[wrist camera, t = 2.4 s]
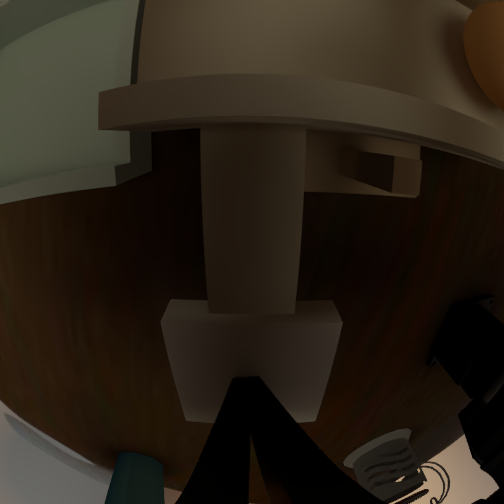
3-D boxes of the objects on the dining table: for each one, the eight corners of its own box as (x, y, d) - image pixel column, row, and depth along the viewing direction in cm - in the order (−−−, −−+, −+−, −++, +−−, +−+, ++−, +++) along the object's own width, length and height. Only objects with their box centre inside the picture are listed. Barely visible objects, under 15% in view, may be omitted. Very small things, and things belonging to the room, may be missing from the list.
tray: (161, -14, 8) (141, -62, 4) (152, 170, 11) (116, 185, 7) (0, 46, 7) (-44, 36, 3) (-6, 196, 10) (-55, 218, 6)
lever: (520, 48, 5) (574, 45, 1) (476, 353, 11) (508, 398, 7) (165, -43, 4) (129, -105, 1) (182, 383, 11) (165, 460, 7)
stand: (401, 3, 9) (453, -24, 4) (407, 194, 13) (471, 221, 8) (263, -31, 8) (281, -88, 3) (263, 188, 12) (286, 216, 8)
